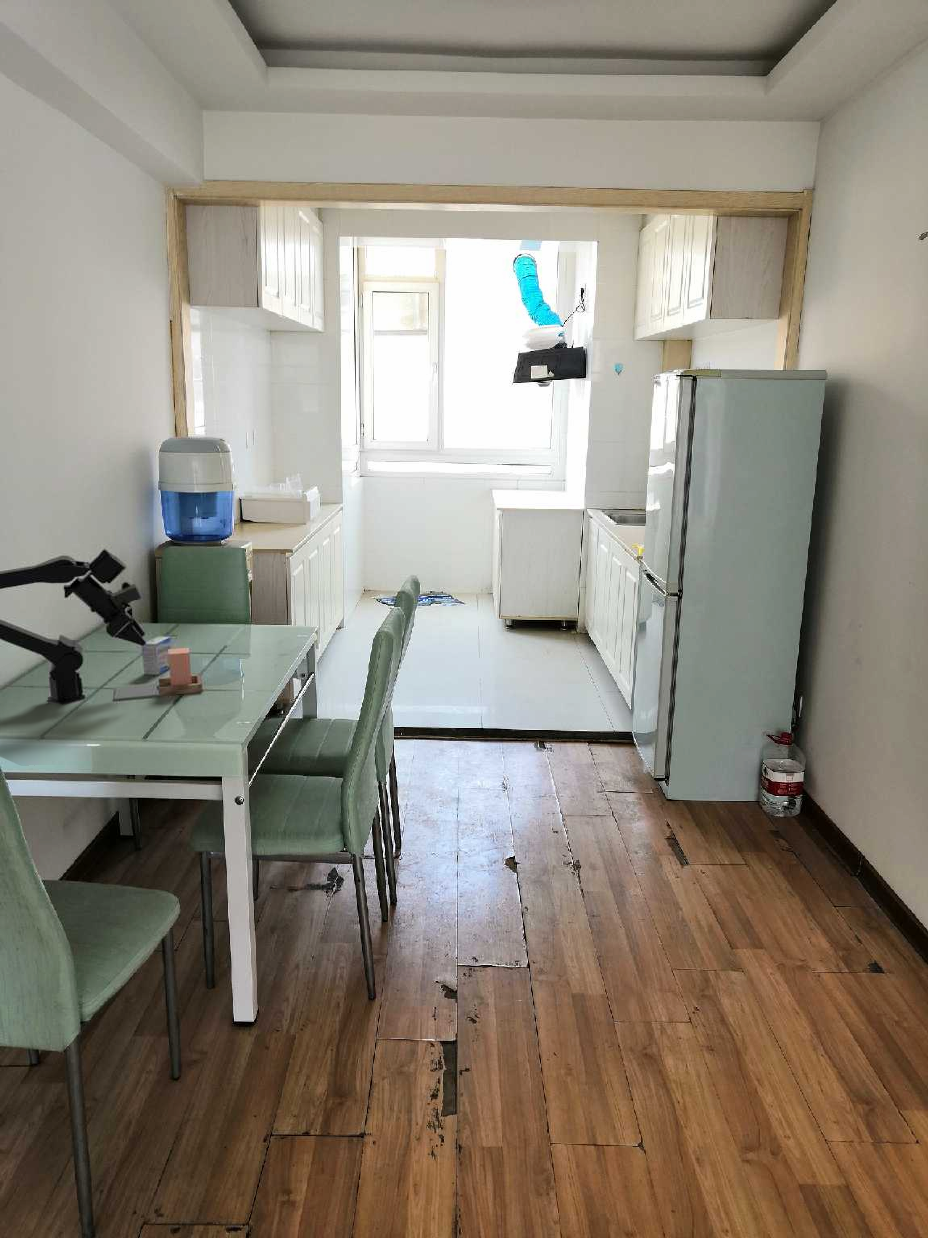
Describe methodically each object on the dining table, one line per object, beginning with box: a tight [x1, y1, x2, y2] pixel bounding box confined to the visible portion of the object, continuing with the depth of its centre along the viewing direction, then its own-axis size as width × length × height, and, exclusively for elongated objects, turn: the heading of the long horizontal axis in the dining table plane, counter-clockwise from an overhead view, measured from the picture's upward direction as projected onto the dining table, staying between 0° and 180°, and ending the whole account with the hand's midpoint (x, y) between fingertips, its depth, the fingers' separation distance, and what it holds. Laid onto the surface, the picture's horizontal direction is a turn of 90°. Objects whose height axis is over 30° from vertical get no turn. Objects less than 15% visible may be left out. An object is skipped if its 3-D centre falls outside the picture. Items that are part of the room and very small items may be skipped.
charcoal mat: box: [113, 682, 158, 702], centre depth 234 cm, size 10×10×1 cm
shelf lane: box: [157, 673, 204, 697], centre depth 237 cm, size 10×9×2 cm
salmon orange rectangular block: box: [168, 647, 193, 686], centre depth 236 cm, size 5×5×10 cm
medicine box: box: [140, 636, 172, 676], centre depth 252 cm, size 8×4×9 cm, turn 168°
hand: (144, 639), depth 233 cm, fingers open, 9 cm apart
